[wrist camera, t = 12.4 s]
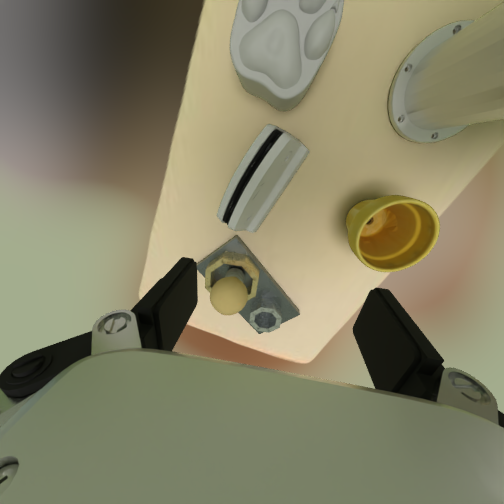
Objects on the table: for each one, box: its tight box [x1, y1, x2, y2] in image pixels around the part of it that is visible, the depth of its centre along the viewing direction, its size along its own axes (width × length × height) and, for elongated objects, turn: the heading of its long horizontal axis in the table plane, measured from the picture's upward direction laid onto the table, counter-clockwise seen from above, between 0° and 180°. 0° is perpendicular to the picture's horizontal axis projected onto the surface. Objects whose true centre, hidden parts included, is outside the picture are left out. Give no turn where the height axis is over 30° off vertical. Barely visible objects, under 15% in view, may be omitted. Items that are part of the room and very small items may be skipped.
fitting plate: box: [197, 235, 300, 334], centre depth 42 cm, size 11×22×4 cm, turn 38°
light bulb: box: [210, 268, 248, 315], centre depth 37 cm, size 6×6×10 cm
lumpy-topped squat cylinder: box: [230, 0, 344, 111], centre depth 23 cm, size 10×13×9 cm
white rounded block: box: [217, 124, 309, 233], centre depth 31 cm, size 17×5×10 cm, turn 148°
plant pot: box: [346, 195, 440, 272], centre depth 31 cm, size 10×10×10 cm
